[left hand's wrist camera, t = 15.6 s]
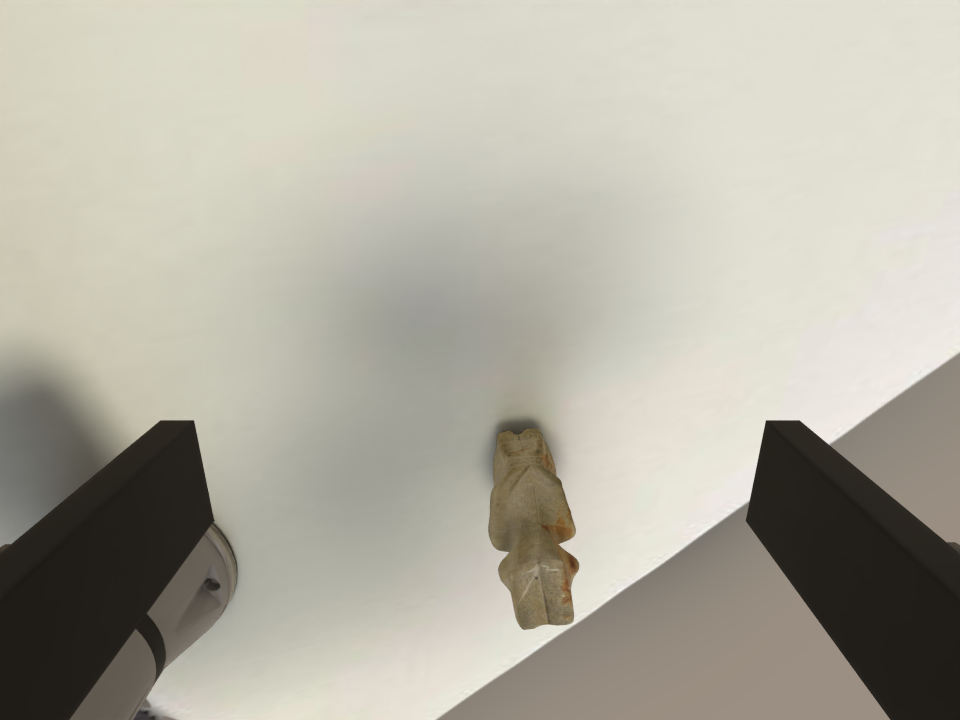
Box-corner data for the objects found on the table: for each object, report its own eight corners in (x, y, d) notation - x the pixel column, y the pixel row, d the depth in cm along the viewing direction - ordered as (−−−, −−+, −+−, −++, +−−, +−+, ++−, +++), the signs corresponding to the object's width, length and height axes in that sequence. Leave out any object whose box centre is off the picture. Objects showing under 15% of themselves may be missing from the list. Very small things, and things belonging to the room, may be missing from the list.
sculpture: (490, 497, 47) (494, 643, 33) (483, 420, 44) (484, 544, 30) (558, 492, 47) (592, 637, 33) (555, 415, 44) (591, 537, 30)
